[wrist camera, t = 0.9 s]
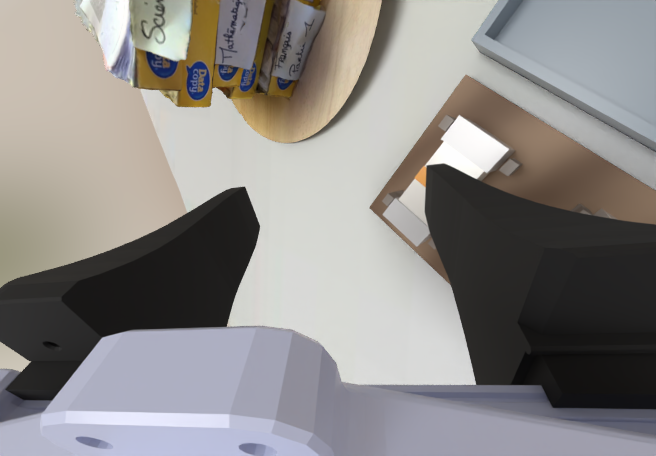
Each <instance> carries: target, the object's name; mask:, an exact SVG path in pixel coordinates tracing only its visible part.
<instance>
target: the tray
mask: <svg viewBox="0 0 656 456" xmlns="http://www.w3.org/2000/svg"><path fill="white" fill-rule="evenodd" d="M472 42H473V43H474V45H475V46H476V47H477V49H478V50H479V52H481V53H483V54H484V55H486V56H488V57H490V58H491V59H493V60H495V61H497V62H498V63H500V64H502V65H504V66H506V67H507V68H509V69H511V70H513V71H514V72H516V73H518V74H520V75H521V76H523V77H525V78H527V79H528V80H530V81H532V82H534V83H536V84H537V85H539V86H541V87H543V88H544V89H546V90H548V91H550V92H551V93H553V94H555V95H557V96H558V97H560V98H562V99H564V100H565V101H567V102H569V103H571V104H573V105H574V106H576V107H578V108H580V109H581V110H583V111H585V112H587V113H588V114H590V115H592V116H594V117H595V118H597V119H599V120H601V121H602V122H604V123H606V124H608V125H610V126H611V127H613V128H615V129H617V130H618V131H620V132H622V133H624V134H625V135H627V136H629V137H631V138H632V139H634V140H636V141H638V142H640V143H641V144H643V145H645V146H647V147H648V148H650V149H652V150H654V151H655V152H656V0H498V2H497V3H496V5H495V6H494V8H493V9H492V11H491V12H490V13H489V15H488V16H487V18H486V19H485V21H484V22H483V24H482V25H481V27H480V28H479V29H478V31H477V32H476V34H475V35H474V37H473V38H472Z"/></svg>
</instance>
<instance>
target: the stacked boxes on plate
mask: <svg viewBox="0 0 656 456" xmlns="http://www.w3.org/2000/svg"><path fill="white" fill-rule="evenodd" d="M381 2H382V0H74V5H75V8H76V10H77V12H75V14H76V16H78V17H80V18H81V20H82V21H81V23H82V24H83V25H85V26H86V27H87V29H86V30H87V31H90V32H91V33H92V35H93V37H94V38H95V40H96V41H97V42H98V44H99V46H101V47H102V49H103V60H104V62H105V69H106V71H109V72H111V73H112V74H113V75H114V77H116V78H120V79H122V80H125V81H126V82H127V83H129V84H130V85H131V86H132V87H137V88H139V89H148V90H159V91H160V92H161V93H162V94H163V95H164V96H165V97H167V98H169V99H171V101H172V102H173V103H174V104H175V105H176V106H178V107H209V106H211V97H212V93H213V92H212V88H215V87H216V88H218V89H219V90H221V91H222V92H223V93H224V94H225V95H226V97H227V98H229V99H232V101H233V103H234V105H235V107H236V108H237V110H238V111H239V113H240V114H242V116H243V118H244V120H245V121H247V123H248V124H249V125H250V126H251V127H252V128H253V129H254V130H255V131H256V132H258V133H259V134H260V135H262V136H264V137H265V138H267V139H270V140H272V141H276V142H281V143H292V142H297V141H301V140H303V139H306V138H308V137H310V136H312V135H314V134H315V133H317V132H318V131H319V130H321V129H322V128H323V127H325V126H326V125H327V124H328V123H329V121H330V120H331V119H332V118H333V117H334V116H335V115H336V114H337V112H338V111H339V110H340V109H341V107H342V106H343V105H344V103H345V102H346V100H347V98H348V97H349V95H350V93H351V92H352V90H353V88H354V86H355V84H356V82H357V80H358V78H359V76H360V73H361V71H362V69H363V67H364V64H365V62H366V59H367V56H368V53H369V50H370V47H371V43H372V40H373V37H374V34H375V29H376V26H377V22H378V17H379V12H380V8H381Z"/></svg>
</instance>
